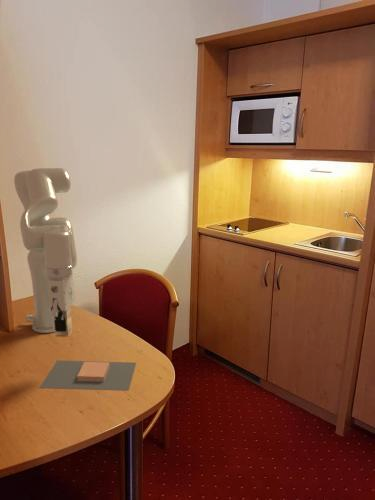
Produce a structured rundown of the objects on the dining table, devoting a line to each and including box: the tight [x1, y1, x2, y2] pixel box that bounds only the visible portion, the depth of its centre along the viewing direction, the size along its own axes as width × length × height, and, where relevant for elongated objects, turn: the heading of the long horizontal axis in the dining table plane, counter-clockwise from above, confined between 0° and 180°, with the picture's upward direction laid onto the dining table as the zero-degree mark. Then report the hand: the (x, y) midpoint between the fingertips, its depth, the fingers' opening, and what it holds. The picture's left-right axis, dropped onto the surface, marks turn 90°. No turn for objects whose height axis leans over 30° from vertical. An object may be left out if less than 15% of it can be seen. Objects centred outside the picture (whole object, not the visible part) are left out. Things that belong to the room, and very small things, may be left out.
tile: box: [77, 361, 110, 382], centre depth 123 cm, size 2×8×8 cm
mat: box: [39, 359, 137, 391], centre depth 123 cm, size 26×15×1 cm, turn 88°
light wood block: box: [54, 305, 73, 338], centre depth 123 cm, size 4×4×11 cm
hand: (63, 327), depth 123 cm, fingers closed on light wood block, 4 cm apart
